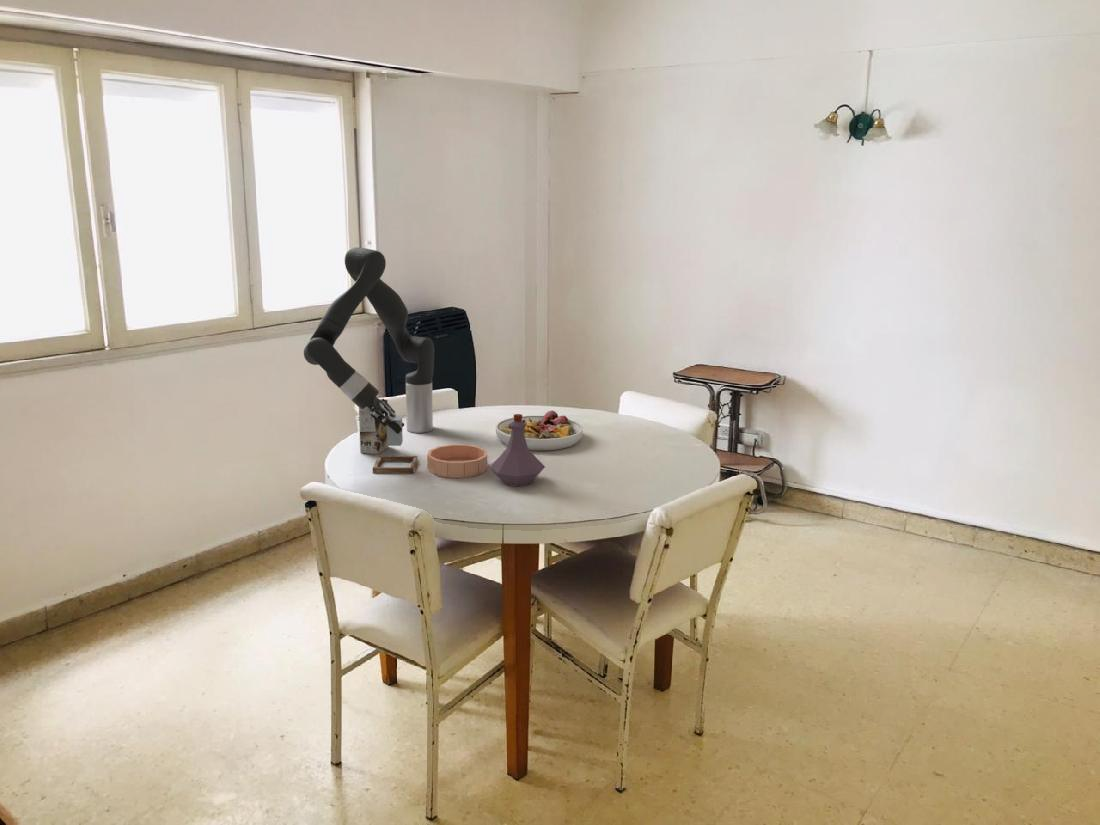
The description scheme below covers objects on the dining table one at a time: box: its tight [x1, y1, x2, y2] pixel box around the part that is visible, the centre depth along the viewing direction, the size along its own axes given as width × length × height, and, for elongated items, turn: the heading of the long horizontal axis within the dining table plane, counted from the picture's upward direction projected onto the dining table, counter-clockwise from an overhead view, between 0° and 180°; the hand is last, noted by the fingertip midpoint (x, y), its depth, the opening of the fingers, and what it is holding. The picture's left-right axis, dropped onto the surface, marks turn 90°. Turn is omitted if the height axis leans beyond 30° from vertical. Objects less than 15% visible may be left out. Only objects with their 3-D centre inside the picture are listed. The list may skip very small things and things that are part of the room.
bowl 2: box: [495, 410, 584, 452], centre depth 275 cm, size 30×30×8 cm
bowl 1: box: [426, 443, 489, 479], centre depth 244 cm, size 18×18×5 cm
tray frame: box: [372, 455, 419, 474], centre depth 245 cm, size 12×12×2 cm
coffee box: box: [358, 398, 390, 455], centre depth 259 cm, size 9×6×16 cm
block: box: [387, 416, 404, 447], centre depth 242 cm, size 4×4×8 cm
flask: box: [488, 413, 546, 487], centre depth 233 cm, size 16×16×20 cm
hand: (401, 429), depth 242 cm, fingers closed on block, 4 cm apart
